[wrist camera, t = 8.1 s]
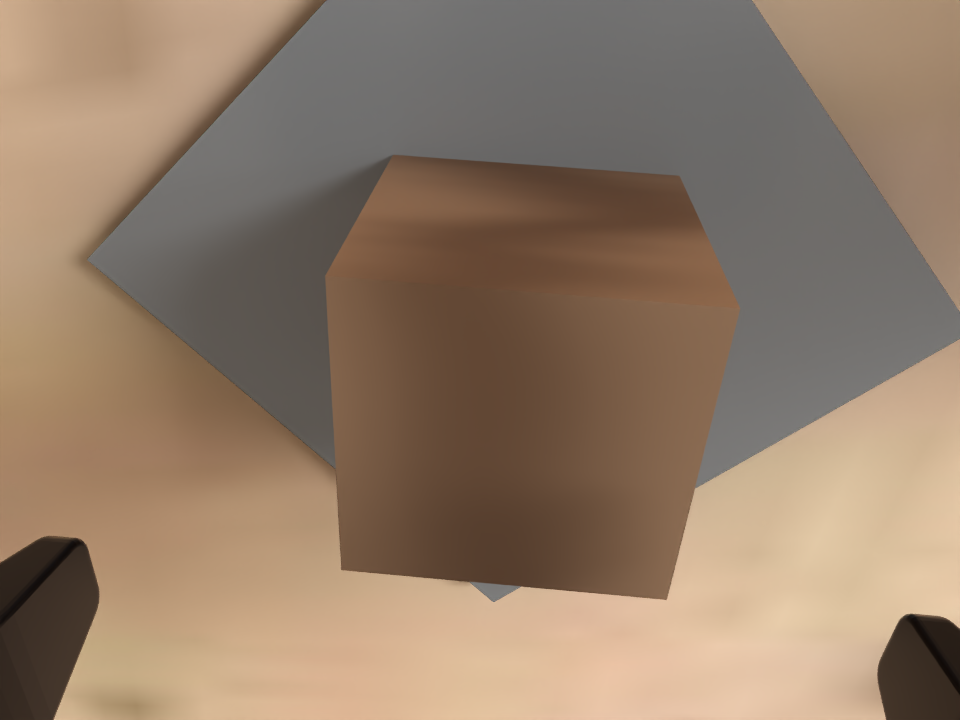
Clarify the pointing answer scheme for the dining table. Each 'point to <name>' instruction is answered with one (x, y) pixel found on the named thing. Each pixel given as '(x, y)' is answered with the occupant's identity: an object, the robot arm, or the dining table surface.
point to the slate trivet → (547, 142)
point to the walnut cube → (523, 374)
